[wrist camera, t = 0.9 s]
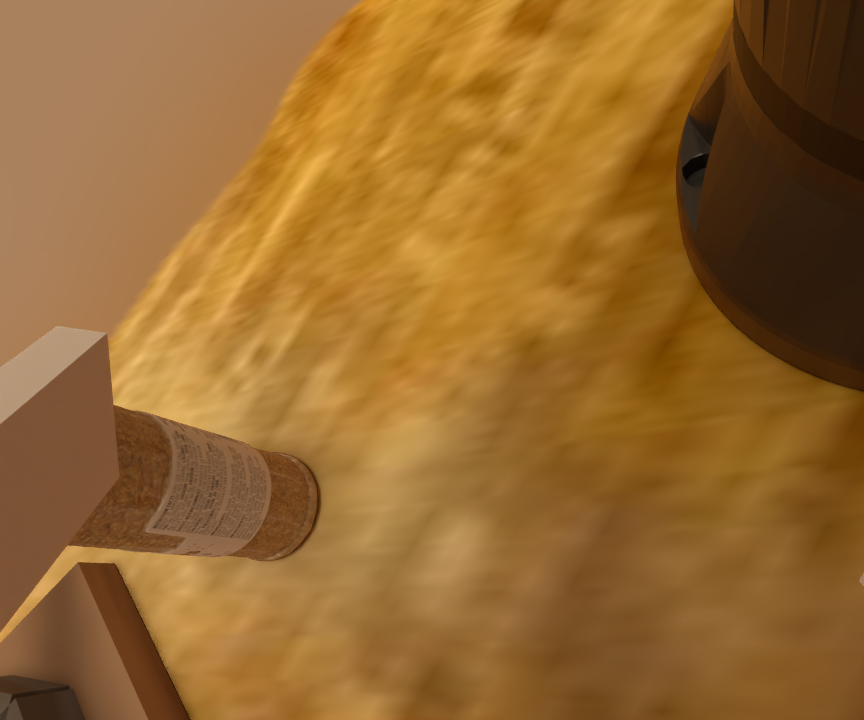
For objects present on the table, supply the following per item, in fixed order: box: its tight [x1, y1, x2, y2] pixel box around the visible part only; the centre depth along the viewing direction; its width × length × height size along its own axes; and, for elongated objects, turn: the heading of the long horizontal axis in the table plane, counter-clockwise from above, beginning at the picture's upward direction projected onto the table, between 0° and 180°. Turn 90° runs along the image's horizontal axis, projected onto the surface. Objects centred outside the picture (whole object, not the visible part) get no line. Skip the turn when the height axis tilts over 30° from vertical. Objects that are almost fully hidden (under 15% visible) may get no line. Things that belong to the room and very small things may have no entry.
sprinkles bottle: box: [0, 366, 317, 561], centre depth 22 cm, size 5×5×13 cm
